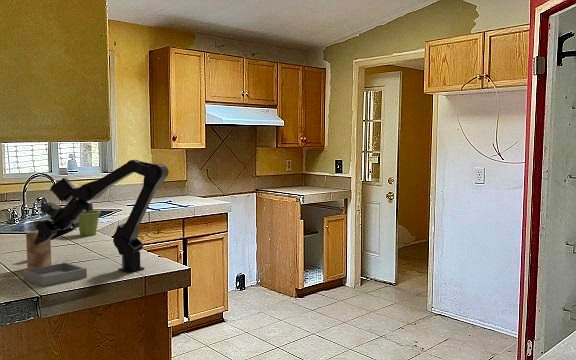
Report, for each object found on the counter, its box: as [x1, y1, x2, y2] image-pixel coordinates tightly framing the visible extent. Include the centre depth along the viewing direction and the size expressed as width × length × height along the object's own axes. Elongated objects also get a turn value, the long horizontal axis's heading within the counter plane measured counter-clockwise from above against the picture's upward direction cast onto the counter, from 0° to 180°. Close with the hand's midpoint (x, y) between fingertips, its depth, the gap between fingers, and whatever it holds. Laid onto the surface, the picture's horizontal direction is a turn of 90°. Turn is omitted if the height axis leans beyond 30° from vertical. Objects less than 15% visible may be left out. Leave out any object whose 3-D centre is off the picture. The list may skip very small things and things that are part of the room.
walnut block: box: [25, 229, 52, 269], centre depth 175 cm, size 6×6×13 cm
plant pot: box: [77, 210, 101, 237], centre depth 240 cm, size 12×12×11 cm
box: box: [23, 261, 88, 288], centre depth 161 cm, size 14×14×3 cm
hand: (42, 241), depth 174 cm, fingers open, 9 cm apart
